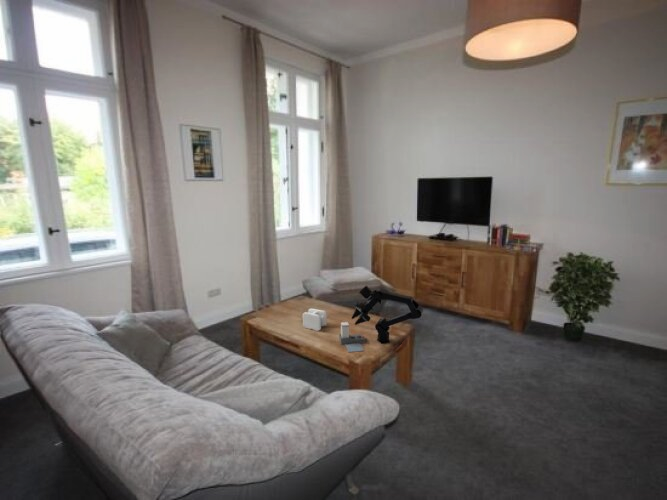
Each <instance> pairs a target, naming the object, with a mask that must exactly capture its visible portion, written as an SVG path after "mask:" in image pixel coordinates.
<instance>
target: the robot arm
mask: <svg viewBox="0 0 667 500" xmlns="http://www.w3.org/2000/svg"><path fill="white" fill-rule="evenodd" d="M358 293H359V295H361V297H363V298H364V299H367V300H364V301H361V300H358V299H355V300H354V303H353V305H354V312H353V313H352V316H351V319H352V320H353V319H355V318H357V317H358V318H357V319H356V321H355V323H354V326H357V325H359V324H362V323H367V322H369V321H371V317H370V315H369V314H370V312H371V311H373V310H374V307H376V305H377V304H380V305H381V304H382V301H385V300H387V301H388V300H389V301H394V302H398V303H401V304H405V305H407V306H408V309H409V311H407V312H406V311H405V312H403V313H401V314H399V315H396V316H394V317H390V318H386V316H384V317H382V318H379V320H378V321H377V322H376V323H375V326H374V328H375V330H376V333H377V338H376V341H378V343H380V344H381V345H383V344H389V343H391V340H390V332H389V330H390V328H391V326H393V325H396V324H399V323H403V322H404V321H407V320H416V319H420V318H421V317H422V315H423V313H424V308H423V307H422V306H420V305H419V303H418V302H417V301H416V300H415V299H414V298H413V297H412V296H408V295H403V294H398V293H394V292H392V291H389V290H387V289H385V288H383V287H380V288H378V289H373V290H372V289H370V288H369V286H368V285H365V286H364V287H363V288H362V289H360V291H359V292H358Z"/></svg>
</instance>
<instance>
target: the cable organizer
mask: <svg viewBox="0 0 667 500" xmlns="http://www.w3.org/2000/svg"><path fill="white" fill-rule="evenodd" d="M327 314H328V313H327V312H326V311H325V310H321V309H317V308H309V309H308V310H307V312H303V313H302V326H303V328H305V329H307V330H309V329H310V330H313V331H316V332H318V331H320V330H321V329H322V327H325V326H326V325H327V324H328V315H327Z"/></svg>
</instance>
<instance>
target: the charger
mask: <svg viewBox="0 0 667 500" xmlns="http://www.w3.org/2000/svg"><path fill="white" fill-rule="evenodd" d="M340 334H341V338H349V335H350V324H349V322H348V321H344V322H340Z"/></svg>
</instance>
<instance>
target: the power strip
mask: <svg viewBox="0 0 667 500" xmlns="http://www.w3.org/2000/svg"><path fill="white" fill-rule="evenodd" d="M338 336H339V337H338V340H339V342H340V345H341V346H343V345H345V344H355V343H360V344H363V343H366V342H367V341H366V337H365V335H364V334H363V333H362V334H349V338H341V333H339V334H338Z"/></svg>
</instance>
